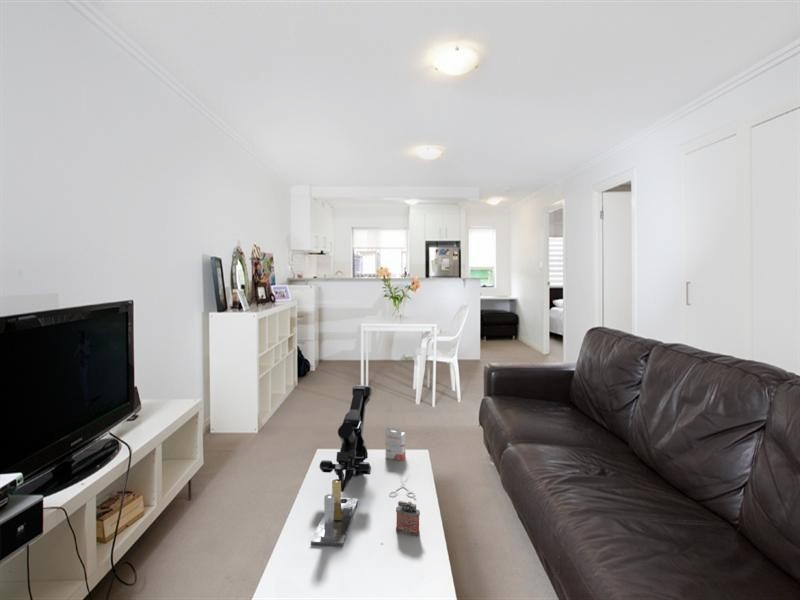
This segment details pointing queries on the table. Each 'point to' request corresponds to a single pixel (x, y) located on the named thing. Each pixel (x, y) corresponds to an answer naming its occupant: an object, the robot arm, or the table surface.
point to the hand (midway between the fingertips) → (341, 491)
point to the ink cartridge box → (395, 443)
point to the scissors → (404, 488)
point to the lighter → (407, 519)
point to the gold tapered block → (337, 499)
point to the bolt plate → (334, 523)
